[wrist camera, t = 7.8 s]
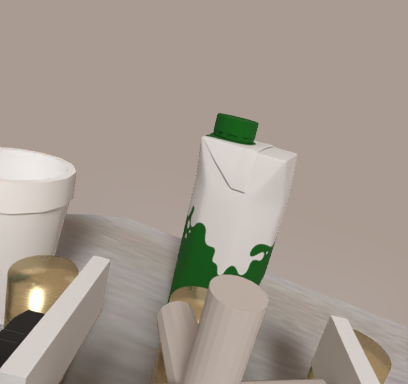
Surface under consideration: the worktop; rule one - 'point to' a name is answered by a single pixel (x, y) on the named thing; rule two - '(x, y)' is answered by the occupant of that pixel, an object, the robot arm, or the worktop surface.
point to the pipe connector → (215, 335)
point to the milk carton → (233, 205)
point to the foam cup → (31, 207)
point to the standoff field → (67, 271)
